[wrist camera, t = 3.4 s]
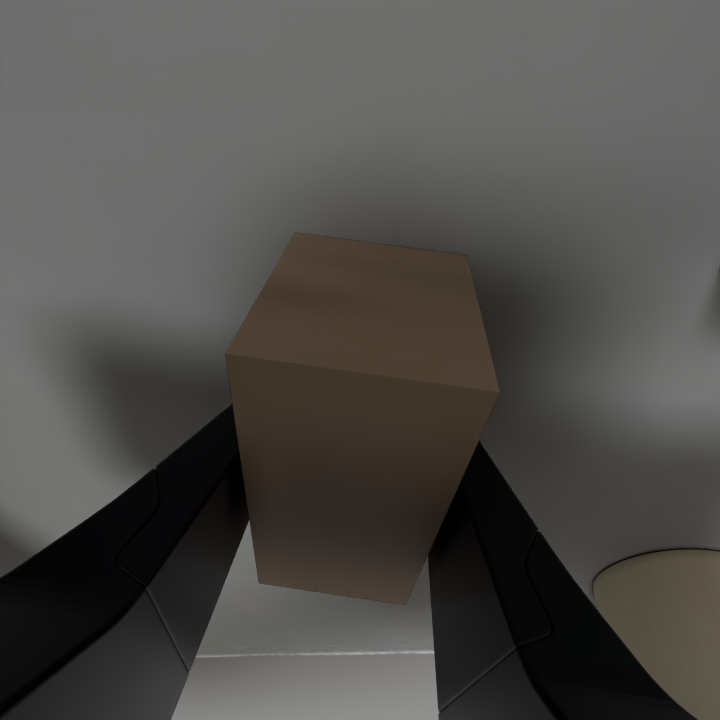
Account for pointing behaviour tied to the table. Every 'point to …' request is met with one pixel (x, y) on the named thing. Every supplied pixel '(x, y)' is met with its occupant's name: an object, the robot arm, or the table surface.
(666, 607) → the candle
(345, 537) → the walnut block
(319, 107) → the table surface
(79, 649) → the robot arm
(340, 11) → the table surface
